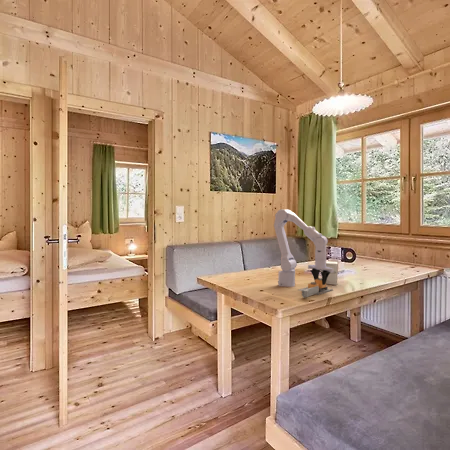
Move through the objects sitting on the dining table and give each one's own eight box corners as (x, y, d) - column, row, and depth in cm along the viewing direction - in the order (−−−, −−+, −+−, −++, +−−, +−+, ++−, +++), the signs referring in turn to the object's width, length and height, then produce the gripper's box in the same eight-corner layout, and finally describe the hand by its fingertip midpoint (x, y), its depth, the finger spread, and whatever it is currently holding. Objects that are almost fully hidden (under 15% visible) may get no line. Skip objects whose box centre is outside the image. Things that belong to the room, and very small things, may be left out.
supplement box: (323, 284, 184) (324, 262, 183) (324, 281, 191) (325, 260, 190) (337, 285, 181) (337, 263, 180) (337, 282, 188) (337, 261, 187)
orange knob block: (321, 288, 166) (321, 279, 165) (315, 286, 169) (315, 278, 168) (325, 287, 168) (325, 278, 168) (319, 285, 171) (319, 277, 171)
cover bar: (307, 298, 151) (307, 291, 150) (301, 297, 153) (302, 290, 153) (321, 293, 159) (322, 287, 158) (316, 292, 161) (316, 285, 161)
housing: (318, 296, 158) (318, 292, 158) (297, 291, 168) (297, 287, 168) (333, 291, 167) (333, 287, 167) (312, 287, 177) (312, 283, 177)
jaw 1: (314, 292, 162) (314, 284, 161) (307, 291, 165) (308, 282, 164) (318, 291, 164) (319, 282, 164) (312, 290, 167) (312, 281, 167)
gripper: (337, 259, 165) (336, 284, 165) (313, 256, 176) (313, 280, 176) (329, 260, 160) (329, 287, 161) (305, 257, 171) (305, 282, 172)
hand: (320, 283), depth 168 cm, fingers closed on orange knob block, 4 cm apart
